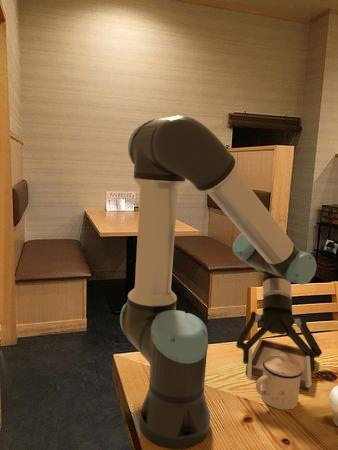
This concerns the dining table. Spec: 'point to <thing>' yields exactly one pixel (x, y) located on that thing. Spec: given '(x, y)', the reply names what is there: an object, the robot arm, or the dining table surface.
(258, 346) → the walnut tray
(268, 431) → the dining table surface
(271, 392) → the teacup with lid
